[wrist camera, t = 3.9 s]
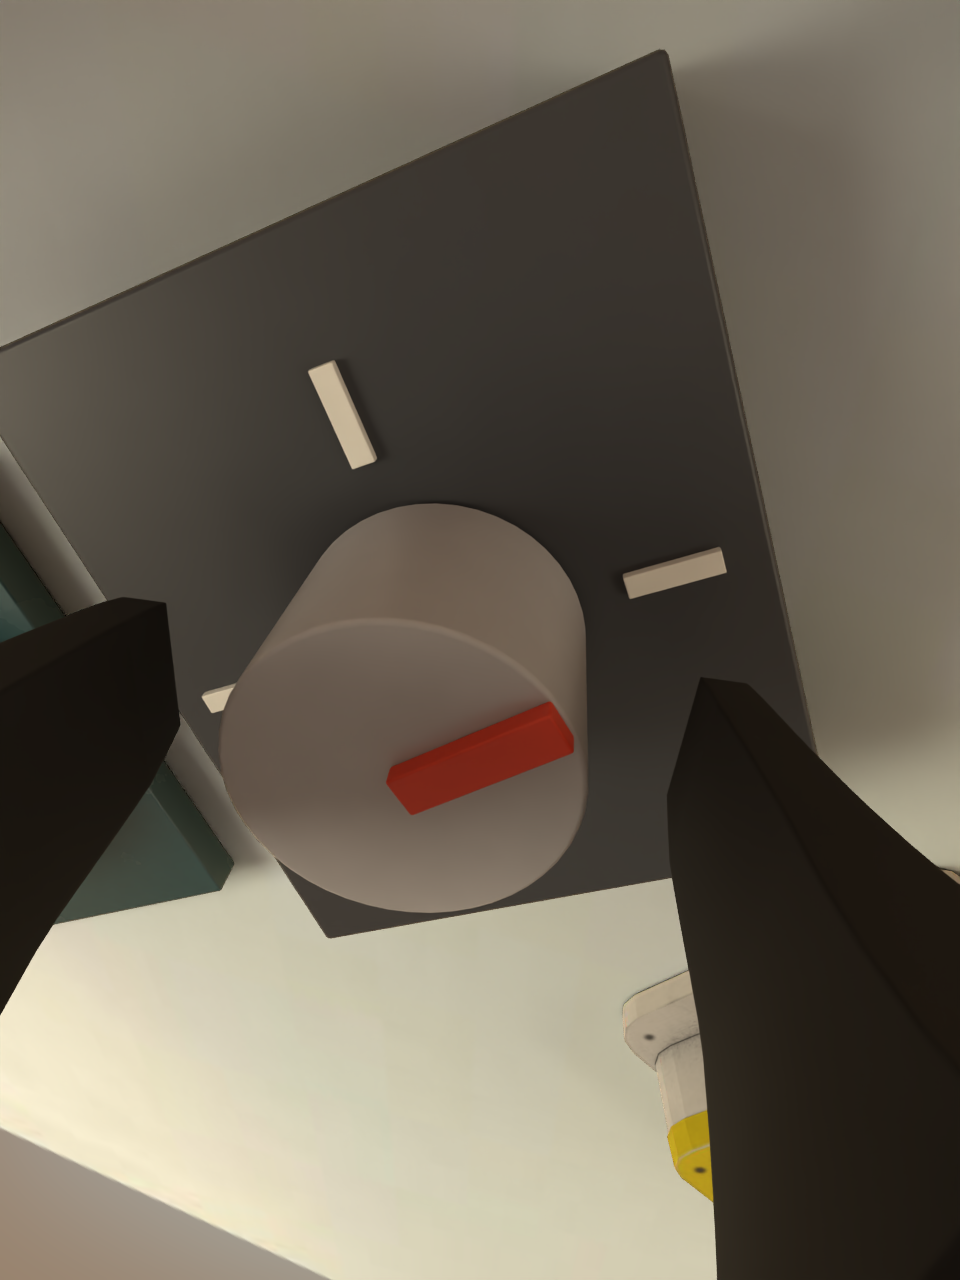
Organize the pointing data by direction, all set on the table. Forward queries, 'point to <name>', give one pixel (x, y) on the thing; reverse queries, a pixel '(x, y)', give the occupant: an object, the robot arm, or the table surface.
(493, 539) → the dial
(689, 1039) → the emergency button
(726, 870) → the robot arm
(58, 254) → the table surface
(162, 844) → the green button base
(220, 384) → the dial console
